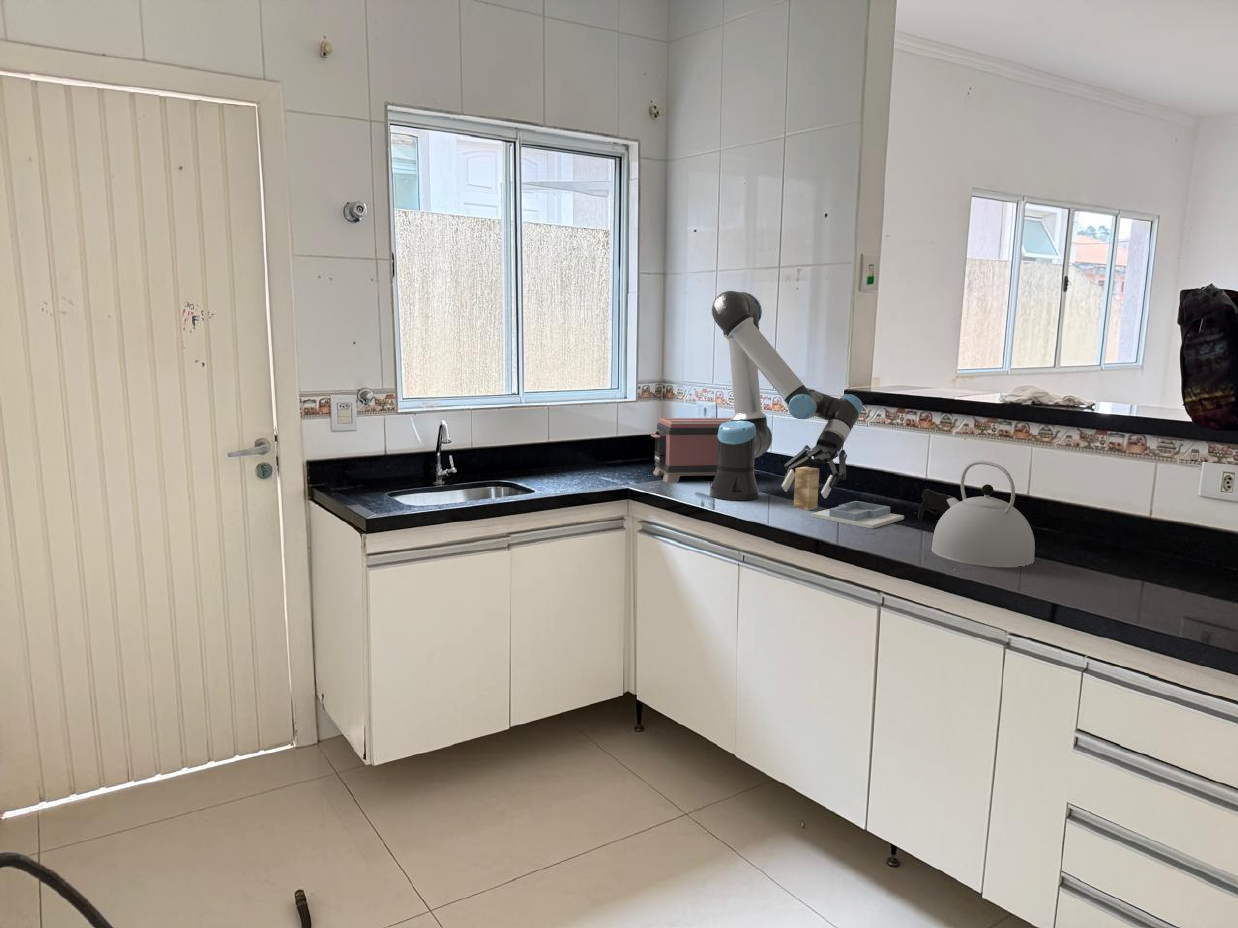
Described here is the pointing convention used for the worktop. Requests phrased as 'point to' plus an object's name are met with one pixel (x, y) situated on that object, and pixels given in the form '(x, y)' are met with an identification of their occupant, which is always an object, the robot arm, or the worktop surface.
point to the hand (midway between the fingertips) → (803, 492)
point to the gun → (933, 502)
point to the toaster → (686, 447)
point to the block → (806, 488)
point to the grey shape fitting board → (859, 514)
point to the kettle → (984, 529)
